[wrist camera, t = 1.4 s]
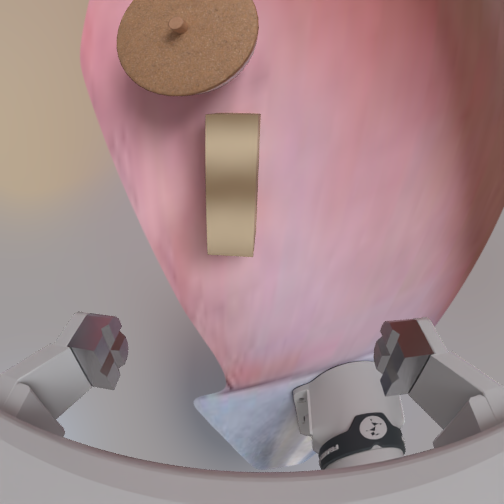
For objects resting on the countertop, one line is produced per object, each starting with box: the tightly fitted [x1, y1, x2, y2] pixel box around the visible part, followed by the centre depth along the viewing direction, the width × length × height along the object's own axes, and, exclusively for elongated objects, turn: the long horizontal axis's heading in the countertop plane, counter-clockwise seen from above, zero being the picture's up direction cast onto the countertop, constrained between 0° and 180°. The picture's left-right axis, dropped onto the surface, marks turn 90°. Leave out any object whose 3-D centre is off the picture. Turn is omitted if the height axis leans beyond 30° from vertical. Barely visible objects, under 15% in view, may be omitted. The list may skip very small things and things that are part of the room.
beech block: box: [205, 113, 261, 257], centre depth 26 cm, size 12×4×6 cm, turn 178°
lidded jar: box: [117, 0, 259, 96], centre depth 19 cm, size 11×11×9 cm
